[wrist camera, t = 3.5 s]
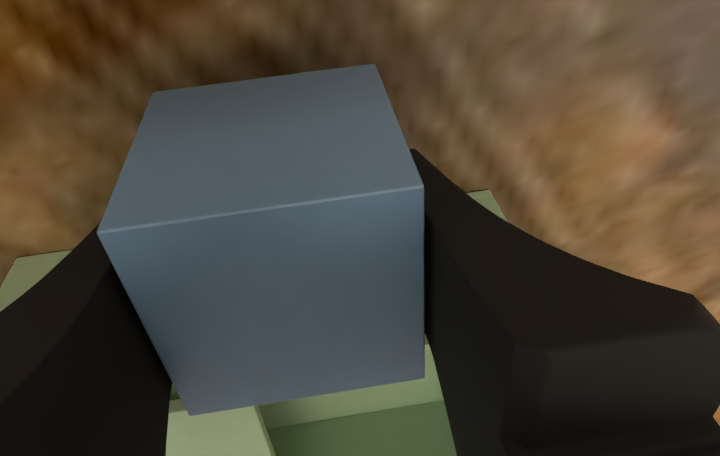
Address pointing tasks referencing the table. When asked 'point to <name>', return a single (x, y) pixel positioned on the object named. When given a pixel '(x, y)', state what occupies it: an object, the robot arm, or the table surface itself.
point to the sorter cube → (273, 238)
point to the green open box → (300, 405)
